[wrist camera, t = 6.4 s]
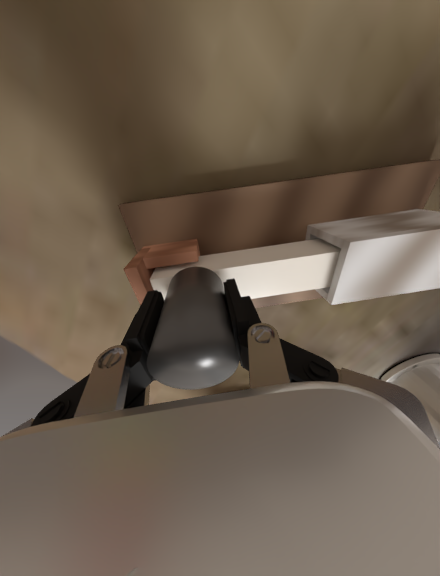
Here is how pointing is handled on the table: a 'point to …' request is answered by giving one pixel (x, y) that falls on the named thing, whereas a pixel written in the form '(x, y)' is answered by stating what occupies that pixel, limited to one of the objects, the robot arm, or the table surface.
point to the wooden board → (303, 229)
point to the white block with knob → (224, 305)
